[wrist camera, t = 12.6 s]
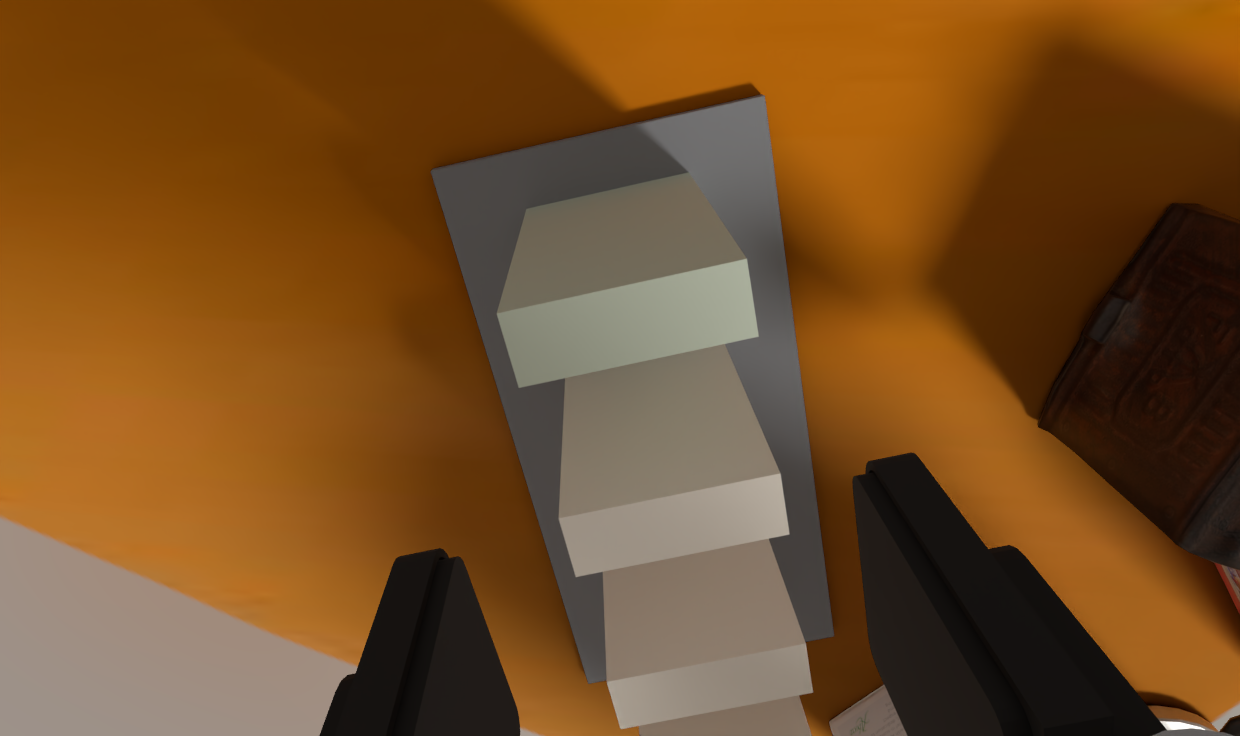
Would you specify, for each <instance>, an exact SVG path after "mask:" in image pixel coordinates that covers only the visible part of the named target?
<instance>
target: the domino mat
mask: <svg viewBox="0 0 1240 736" xmlns="http://www.w3.org/2000/svg"><path fill="white" fill-rule="evenodd" d="M688 172H689V173H690V175H691V176H692V178H693V179H694V181H695V182H696V184H697V185H698V187H699V188H700V190H701V191H702V193H703V194H704V196H705V197H706V199H707V200H708V202H709V203H710V205H711V206H712V208H713V209H714V211H715V212H716V214H717V215H718V217H719V218H720V219H721V221H722V222H723V224H724V225H725V227H726V228H727V230H728V231H729V233H730V234H731V236H732V237H733V239H734V240H735V242H736V243H737V245H738V246H739V248H740V249H741V251H742V252H743V254H744V255H745V257H746V258H747V263H748V269H749V276H750V282H751V289H752V295H753V302H754V309H755V315H756V322H757V328H758V335H759V337H755V338H750V339H745V340H741V341H736V342H731V343H727V344H725V346H726V348H727V351H728V353H729V355H730V358H731V360H732V362H733V365H734V367H735V369H736V371H737V374H738V376H739V378H740V381H741V383H742V385H743V388H744V390H745V392H746V395H747V397H748V399H749V402H750V404H751V406H752V409H753V411H754V413H755V416H756V418H757V420H758V422H759V425H760V427H761V429H762V432H763V434H764V436H765V439H766V441H767V443H768V446H769V448H770V450H771V453H772V455H773V457H774V460H775V462H776V464H777V467H778V469H779V471H780V474H781V480H782V487H783V494H784V500H785V507H786V514H787V521H788V527H789V535H784V536H779V537H774V538H769V541H770V544H771V547H772V550H773V553H774V555H775V558H776V561H777V564H778V567H779V569H780V572H781V575H782V578H783V581H784V583H785V586H786V589H787V592H788V595H789V598H790V600H791V603H792V606H793V609H794V612H795V614H796V617H797V620H798V623H799V626H800V629H801V631H802V634H803V637H804V640H805V642H807V641H813V640H818V639H823V638H828V637H833V636H834V631H833V623H832V615H831V607H830V600H829V592H828V584H827V576H826V568H825V561H824V553H823V545H822V537H821V530H820V522H819V514H818V506H817V499H816V491H815V483H814V475H813V468H812V460H811V452H810V444H809V436H808V429H807V421H806V413H805V405H804V398H803V390H802V382H801V374H800V367H799V359H798V351H797V343H796V335H795V328H794V320H793V312H792V304H791V297H790V289H789V281H788V273H787V266H786V258H785V250H784V242H783V234H782V227H781V219H780V211H779V203H778V196H777V188H776V180H775V172H774V165H773V157H772V149H771V141H770V133H769V126H768V118H767V110H766V102H765V96H764V95H762V94H761V95H757V96H752V97H748V98H744V99H739V100H735V101H730V102H726V103H721V104H717V105H713V106H708V107H704V108H699V109H695V110H690V111H686V112H682V113H677V114H673V115H668V116H664V117H660V118H655V119H651V120H646V121H642V122H637V123H633V124H629V125H624V126H620V127H615V128H611V129H606V130H602V131H598V132H593V133H589V134H584V135H580V136H575V137H571V138H567V139H562V140H558V141H553V142H549V143H544V144H540V145H536V146H531V147H527V148H522V149H518V150H513V151H509V152H505V153H500V154H496V155H491V156H487V157H482V158H478V159H474V160H469V161H465V162H460V163H456V164H451V165H447V166H443V167H438V168H434V169H432V170H431V174H432V177H433V181H434V184H435V187H436V190H437V194H438V197H439V200H440V203H441V207H442V210H443V213H444V216H445V220H446V223H447V226H448V229H449V233H450V236H451V239H452V242H453V246H454V249H455V252H456V255H457V259H458V262H459V265H460V268H461V272H462V275H463V278H464V281H465V285H466V288H467V291H468V294H469V298H470V301H471V304H472V307H473V311H474V314H475V317H476V320H477V324H478V327H479V330H480V333H481V337H482V340H483V343H484V346H485V350H486V353H487V356H488V359H489V363H490V366H491V369H492V372H493V376H494V379H495V382H496V385H497V389H498V392H499V395H500V398H501V402H502V405H503V408H504V411H505V415H506V418H507V421H508V424H509V428H510V431H511V434H512V437H513V441H514V444H515V447H516V450H517V454H518V457H519V460H520V463H521V467H522V470H523V473H524V476H525V479H526V483H527V486H528V489H529V492H530V496H531V499H532V502H533V505H534V509H535V512H536V515H537V518H538V522H539V525H540V528H541V531H542V535H543V538H544V541H545V544H546V548H547V551H548V554H549V557H550V561H551V564H552V567H553V570H554V574H555V577H556V580H557V583H558V587H559V590H560V593H561V596H562V600H563V603H564V606H565V609H566V613H567V616H568V619H569V622H570V626H571V629H572V632H573V635H574V639H575V642H576V645H577V648H578V652H579V655H580V658H581V661H582V665H583V668H584V671H585V674H586V678H587V681H588V684H590V683H595V682H600V681H606V680H607V676H606V649H605V621H604V594H603V572H599V573H594V574H589V575H584V576H579V577H576V576H575V573H574V569H573V566H572V562H571V559H570V556H569V552H568V549H567V545H566V542H565V539H564V535H563V532H562V528H561V525H560V522H559V499H560V478H561V456H562V435H563V414H564V392H565V378H563V379H558V380H554V381H549V382H544V383H540V384H535V385H530V386H526V387H521V388H519V387H518V384H517V380H516V377H515V373H514V370H513V367H512V363H511V360H510V357H509V353H508V350H507V347H506V343H505V340H504V337H503V333H502V330H501V327H500V323H499V320H498V317H497V310H498V307H499V303H500V300H501V296H502V293H503V289H504V286H505V282H506V279H507V275H508V272H509V268H510V265H511V261H512V258H513V254H514V251H515V247H516V244H517V240H518V237H519V233H520V230H521V226H522V223H523V219H524V216H525V212H526V209H528V208H532V207H537V206H541V205H546V204H550V203H554V202H559V201H563V200H568V199H572V198H577V197H581V196H586V195H590V194H594V193H599V192H603V191H608V190H612V189H617V188H621V187H626V186H630V185H634V184H639V183H643V182H648V181H652V180H657V179H661V178H666V177H670V176H674V175H679V174H683V173H688Z"/></svg>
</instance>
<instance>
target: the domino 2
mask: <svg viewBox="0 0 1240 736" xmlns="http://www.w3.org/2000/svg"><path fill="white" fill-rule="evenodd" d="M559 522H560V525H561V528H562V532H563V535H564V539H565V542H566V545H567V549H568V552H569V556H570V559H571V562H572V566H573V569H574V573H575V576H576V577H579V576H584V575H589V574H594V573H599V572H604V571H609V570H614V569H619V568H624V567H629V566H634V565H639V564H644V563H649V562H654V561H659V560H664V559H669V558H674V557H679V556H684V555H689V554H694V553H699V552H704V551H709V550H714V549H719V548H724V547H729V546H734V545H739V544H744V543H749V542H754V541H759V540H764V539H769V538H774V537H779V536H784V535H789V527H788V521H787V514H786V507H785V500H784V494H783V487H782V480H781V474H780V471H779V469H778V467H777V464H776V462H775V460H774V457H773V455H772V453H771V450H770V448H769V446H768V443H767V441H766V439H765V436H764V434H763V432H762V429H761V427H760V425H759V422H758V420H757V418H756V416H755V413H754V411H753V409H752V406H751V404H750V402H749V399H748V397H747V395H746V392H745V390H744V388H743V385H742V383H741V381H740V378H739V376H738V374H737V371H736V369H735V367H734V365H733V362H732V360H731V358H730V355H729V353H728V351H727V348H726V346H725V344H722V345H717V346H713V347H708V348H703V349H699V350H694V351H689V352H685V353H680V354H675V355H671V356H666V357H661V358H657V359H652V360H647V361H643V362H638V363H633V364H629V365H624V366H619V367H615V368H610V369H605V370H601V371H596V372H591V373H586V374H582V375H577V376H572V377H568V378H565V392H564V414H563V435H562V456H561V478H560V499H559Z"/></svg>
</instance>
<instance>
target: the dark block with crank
mask: <svg viewBox="0 0 1240 736" xmlns="http://www.w3.org/2000/svg"><path fill="white" fill-rule="evenodd" d="M1038 427H1039V428H1041V429H1043V430H1046V431H1048V432H1050V433H1051V434H1052V435H1054V436H1055V437H1056V438H1057V439H1059V440H1060V441H1061V442H1062V443H1064V444H1065V445H1066V446H1067V447H1069V448H1070V449H1071V450H1072V451H1074V452H1075V453H1076V454H1077V455H1078V456H1080V457H1081V458H1082V459H1083V460H1084V461H1085V462H1086V463H1087V464H1088V465H1089V466H1090V467H1092V468H1093V469H1094V470H1095V471H1096V472H1097V473H1098V474H1099V475H1100V476H1101V477H1103V478H1104V479H1105V480H1106V481H1107V482H1108V483H1109V484H1110V485H1111V486H1113V487H1114V488H1115V489H1116V490H1117V491H1118V492H1119V493H1120V494H1121V495H1123V496H1124V497H1125V498H1126V499H1127V500H1128V501H1129V502H1130V503H1132V504H1133V505H1134V506H1135V507H1136V508H1137V509H1138V510H1139V511H1140V512H1142V513H1143V514H1144V515H1145V516H1146V517H1147V518H1148V519H1149V520H1151V521H1152V522H1153V523H1154V524H1155V525H1156V526H1157V527H1158V528H1159V529H1161V530H1162V531H1163V532H1164V533H1165V534H1166V535H1167V536H1168V537H1169V538H1170V539H1171V540H1172V541H1173V542H1174V543H1175V544H1176V545H1178V546H1180V547H1181V548H1183V549H1185V550H1186V551H1188V552H1190V553H1192V554H1195V555H1197V556H1200V557H1202V558H1204V559H1207V560H1209V561H1212V562H1214V563H1217V564H1221V565H1224V566H1227V567H1229V568H1232V569H1235V570H1238V571H1240V220H1237V219H1235V218H1232V217H1230V216H1227V215H1225V214H1222V213H1219V212H1217V211H1214V210H1212V209H1209V208H1207V207H1204V206H1202V205H1199V204H1180V203H1172V204H1171V206H1170V207H1169V208H1168V210H1167V211H1166V213H1165V214H1164V216H1163V217H1162V218H1161V220H1160V221H1159V223H1158V224H1157V225H1156V227H1155V228H1154V230H1153V231H1152V232H1151V234H1150V235H1149V237H1148V238H1147V239H1146V241H1145V242H1144V244H1143V245H1142V246H1141V248H1140V249H1139V251H1138V252H1137V254H1136V255H1135V256H1134V258H1133V259H1132V261H1131V262H1130V263H1129V265H1128V266H1127V267H1126V269H1125V270H1124V271H1123V273H1122V274H1121V276H1120V277H1119V278H1118V280H1117V281H1116V282H1115V284H1114V285H1113V286H1112V288H1111V289H1110V290H1109V292H1108V293H1107V295H1106V296H1105V297H1104V299H1103V300H1102V301H1101V303H1100V304H1099V306H1098V307H1097V308H1096V310H1095V311H1094V313H1093V315H1092V316H1091V318H1090V320H1089V321H1088V323H1087V325H1086V326H1085V328H1084V330H1083V331H1082V334H1081V337H1080V340H1079V342H1078V344H1077V346H1076V347H1075V349H1074V351H1073V352H1072V354H1071V356H1070V358H1069V359H1068V361H1067V363H1066V364H1065V366H1064V368H1063V370H1062V371H1061V373H1060V375H1059V376H1058V378H1057V380H1056V382H1055V383H1054V385H1053V388H1052V390H1051V392H1050V395H1049V397H1048V400H1047V402H1046V405H1045V407H1044V409H1043V412H1042V414H1041V417H1040V419H1039V422H1038ZM1219 732H1223V733H1227V734H1230V735H1233V736H1240V715H1238V716H1235V717H1232V718H1230V719H1229V720H1228V722H1227V723H1226V724H1225V725H1224V726H1223V728H1222V729H1221V730H1220V731H1219Z"/></svg>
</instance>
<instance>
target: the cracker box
mask: <svg viewBox="0 0 1240 736" xmlns="http://www.w3.org/2000/svg"><path fill="white" fill-rule="evenodd" d="M1215 565H1216V567H1217V569H1218V571H1219V573H1220V575H1221V577H1222V580H1223V582H1224V584H1225V586H1226V588H1227V590H1228V592H1229V594H1230V596H1231V598H1232V600H1233V602H1234V604H1235V606H1236V608H1237V610H1238V612H1239V614H1240V571H1238V570H1235V569H1232V568H1229V567H1227V566H1224V565H1221V564H1217V563H1215Z"/></svg>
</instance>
